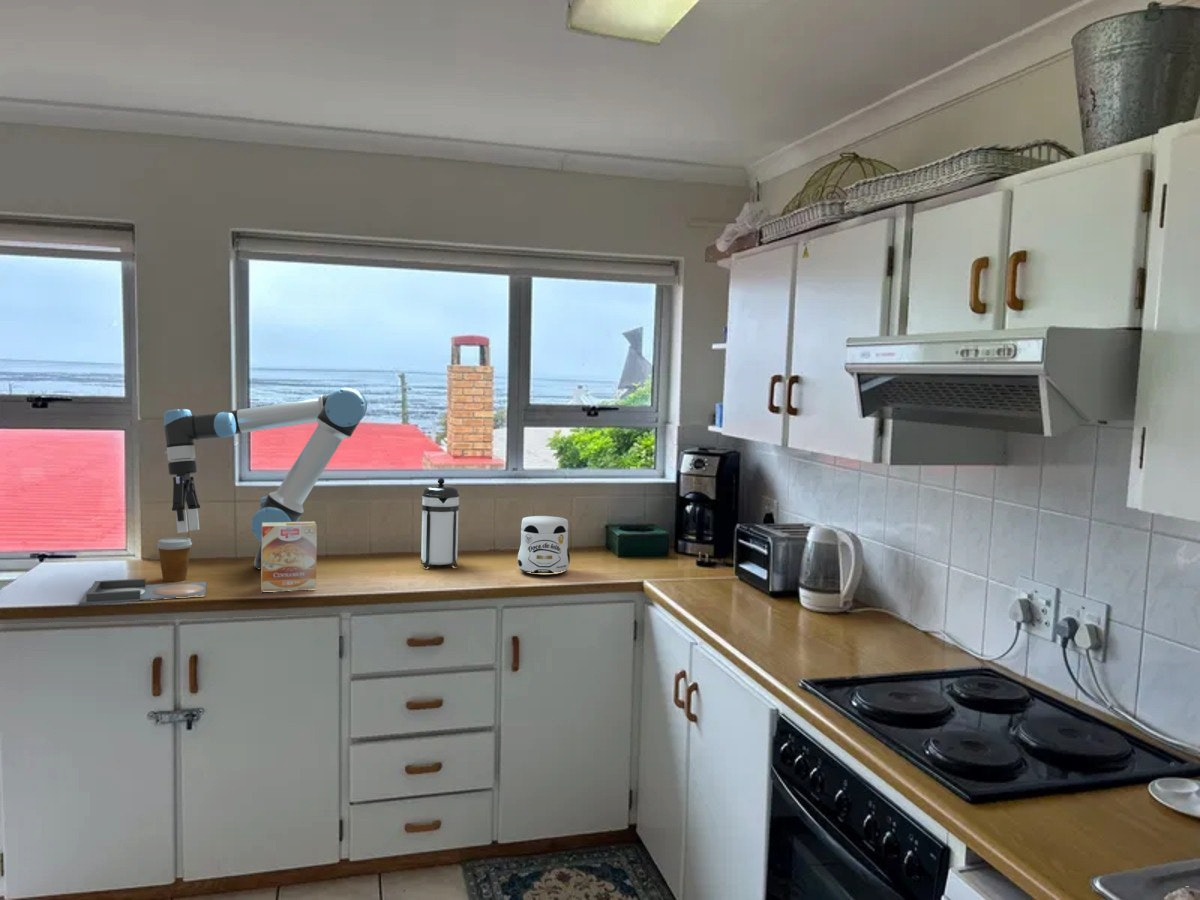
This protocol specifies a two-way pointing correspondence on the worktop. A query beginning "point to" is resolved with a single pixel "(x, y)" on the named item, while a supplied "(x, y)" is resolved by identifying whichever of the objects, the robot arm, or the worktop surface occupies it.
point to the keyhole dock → (139, 591)
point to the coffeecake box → (288, 556)
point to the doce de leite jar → (544, 544)
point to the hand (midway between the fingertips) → (188, 531)
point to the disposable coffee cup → (174, 558)
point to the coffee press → (440, 524)
